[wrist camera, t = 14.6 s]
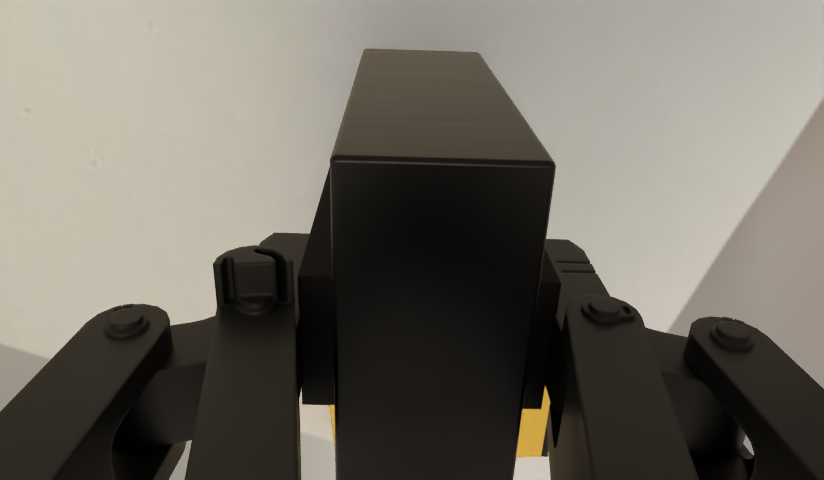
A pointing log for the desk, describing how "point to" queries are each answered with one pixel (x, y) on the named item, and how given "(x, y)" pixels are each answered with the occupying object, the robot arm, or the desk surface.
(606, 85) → the desk surface
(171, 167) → the desk surface
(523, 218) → the black and grey bar
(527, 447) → the butter
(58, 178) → the desk surface
